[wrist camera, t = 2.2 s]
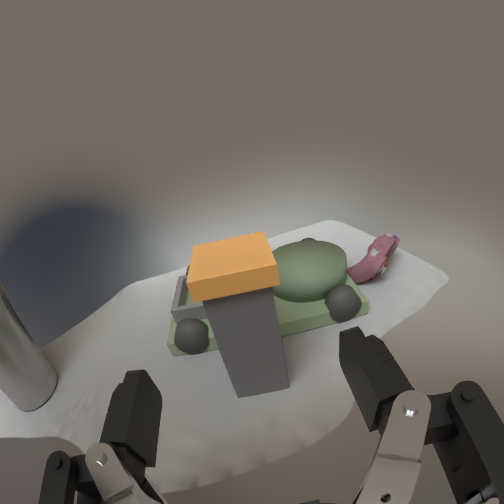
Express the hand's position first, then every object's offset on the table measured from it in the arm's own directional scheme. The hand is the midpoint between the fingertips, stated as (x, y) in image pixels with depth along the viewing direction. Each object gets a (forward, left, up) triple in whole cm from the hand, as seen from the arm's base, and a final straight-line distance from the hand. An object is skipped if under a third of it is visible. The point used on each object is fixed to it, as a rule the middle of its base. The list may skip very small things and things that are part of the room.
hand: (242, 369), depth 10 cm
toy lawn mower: (+2, +24, -14) cm, 28 cm away
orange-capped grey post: (0, +11, -14) cm, 18 cm away
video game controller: (+19, +25, -15) cm, 34 cm away
